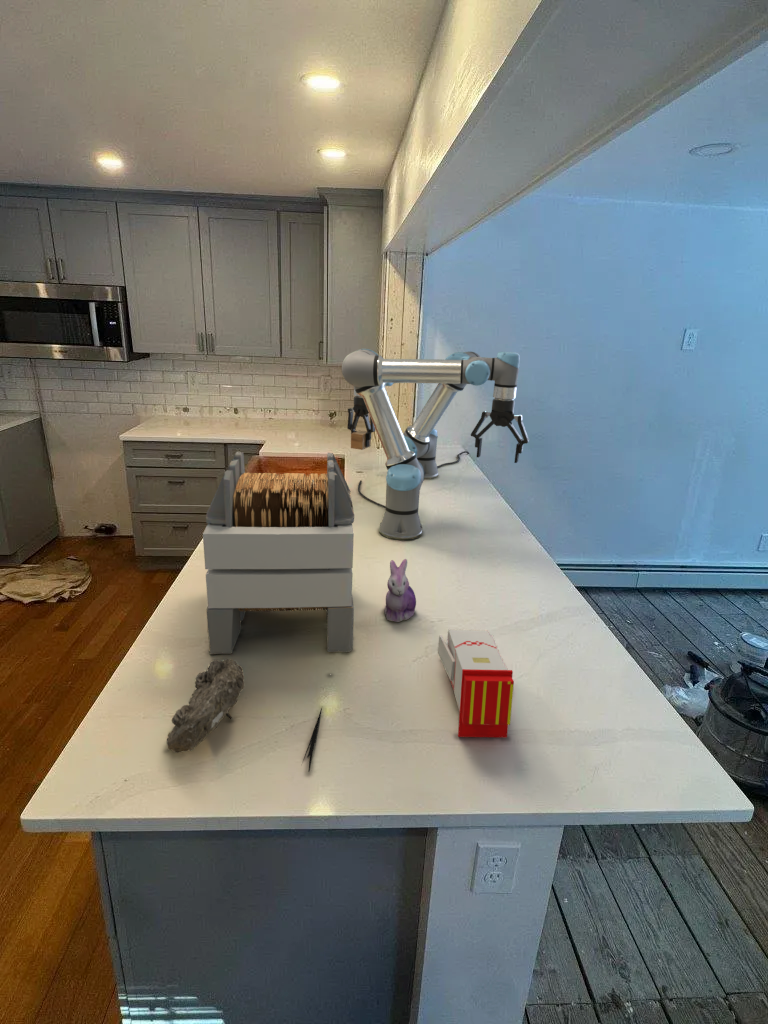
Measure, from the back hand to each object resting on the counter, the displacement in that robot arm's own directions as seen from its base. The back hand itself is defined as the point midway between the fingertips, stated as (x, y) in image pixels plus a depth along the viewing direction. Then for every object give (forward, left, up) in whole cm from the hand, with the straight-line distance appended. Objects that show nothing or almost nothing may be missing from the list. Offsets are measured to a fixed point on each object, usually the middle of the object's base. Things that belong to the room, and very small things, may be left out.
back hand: (360, 445), depth 269 cm
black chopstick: (+131, +116, -13) cm, 176 cm away
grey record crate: (+112, +82, -13) cm, 139 cm away
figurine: (+90, +101, -13) cm, 136 cm away
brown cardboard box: (0, 0, -1) cm, 1 cm away
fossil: (+145, +101, -13) cm, 177 cm away
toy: (+104, +132, -13) cm, 168 cm away
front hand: (+17, +84, +13) cm, 86 cm away
